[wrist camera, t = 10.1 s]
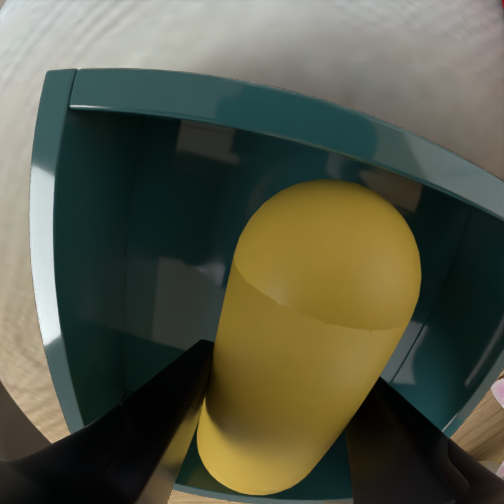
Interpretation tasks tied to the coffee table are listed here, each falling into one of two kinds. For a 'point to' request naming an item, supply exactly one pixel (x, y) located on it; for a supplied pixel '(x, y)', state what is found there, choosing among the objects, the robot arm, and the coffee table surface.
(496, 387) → the lily
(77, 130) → the open box
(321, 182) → the yellow capsule cylinder
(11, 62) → the coffee table surface
